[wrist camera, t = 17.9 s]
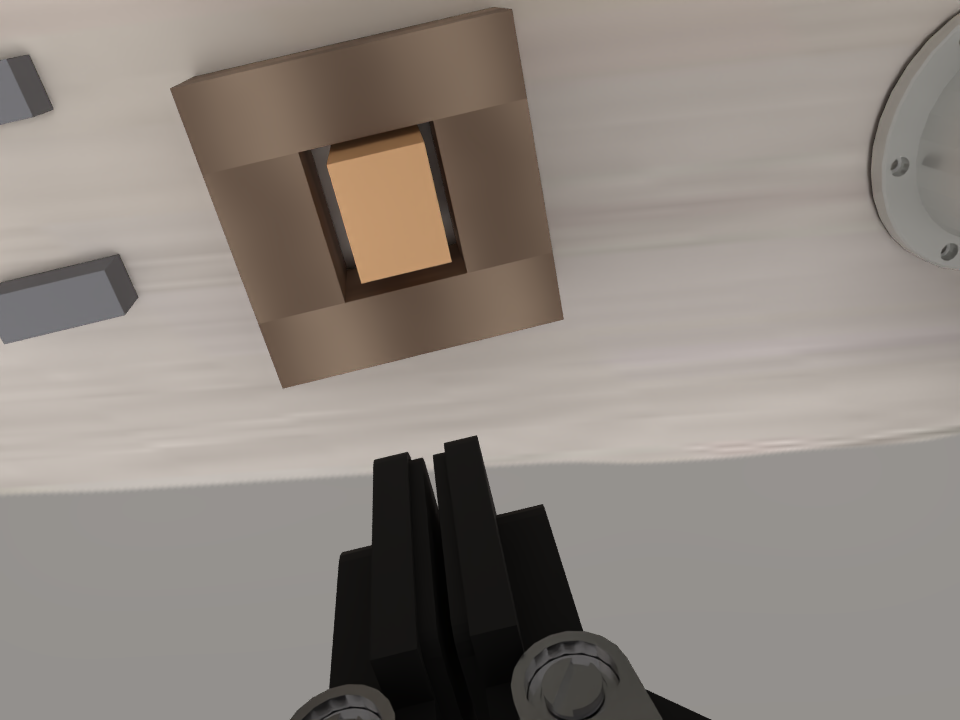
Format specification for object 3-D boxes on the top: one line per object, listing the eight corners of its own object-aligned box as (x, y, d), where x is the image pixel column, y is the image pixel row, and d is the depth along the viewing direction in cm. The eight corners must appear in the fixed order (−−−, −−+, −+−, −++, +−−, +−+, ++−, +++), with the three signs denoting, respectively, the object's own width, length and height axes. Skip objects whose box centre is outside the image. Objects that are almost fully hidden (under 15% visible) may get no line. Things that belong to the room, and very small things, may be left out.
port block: (494, 7, 29) (511, 9, 26) (543, 286, 35) (563, 319, 31) (193, 76, 29) (170, 88, 26) (290, 347, 35) (282, 388, 31)
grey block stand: (29, 54, 28) (6, 59, 26) (138, 297, 33) (125, 315, 31) (-105, 85, 28) (-137, 91, 26) (23, 325, 32) (4, 344, 31)
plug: (413, 116, 31) (424, 142, 26) (437, 218, 33) (451, 261, 28) (333, 134, 31) (326, 165, 25) (362, 236, 33) (361, 283, 27)
